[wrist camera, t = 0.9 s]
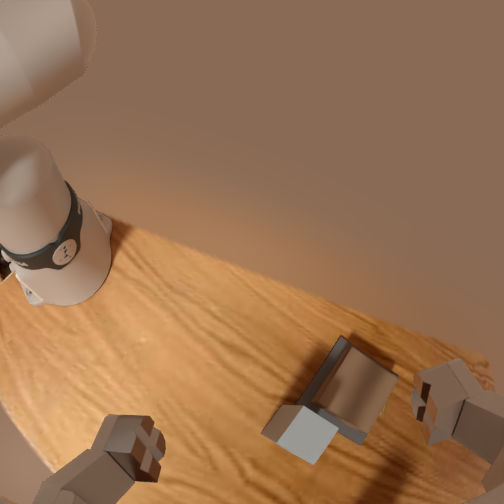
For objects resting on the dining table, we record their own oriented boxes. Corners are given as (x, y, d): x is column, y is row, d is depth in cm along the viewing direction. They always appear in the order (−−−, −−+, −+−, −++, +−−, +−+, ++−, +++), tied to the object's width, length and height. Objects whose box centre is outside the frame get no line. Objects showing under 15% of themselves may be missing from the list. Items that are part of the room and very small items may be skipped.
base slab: (310, 401, 40) (317, 401, 37) (343, 350, 44) (352, 346, 41) (358, 432, 38) (368, 433, 36) (387, 381, 42) (398, 379, 40)
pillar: (260, 433, 38) (276, 442, 29) (282, 404, 40) (303, 405, 31) (290, 452, 37) (313, 465, 28) (310, 423, 39) (339, 428, 30)
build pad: (295, 404, 40) (295, 404, 40) (339, 336, 45) (340, 336, 45) (359, 444, 38) (360, 445, 38) (397, 378, 43) (398, 377, 43)
